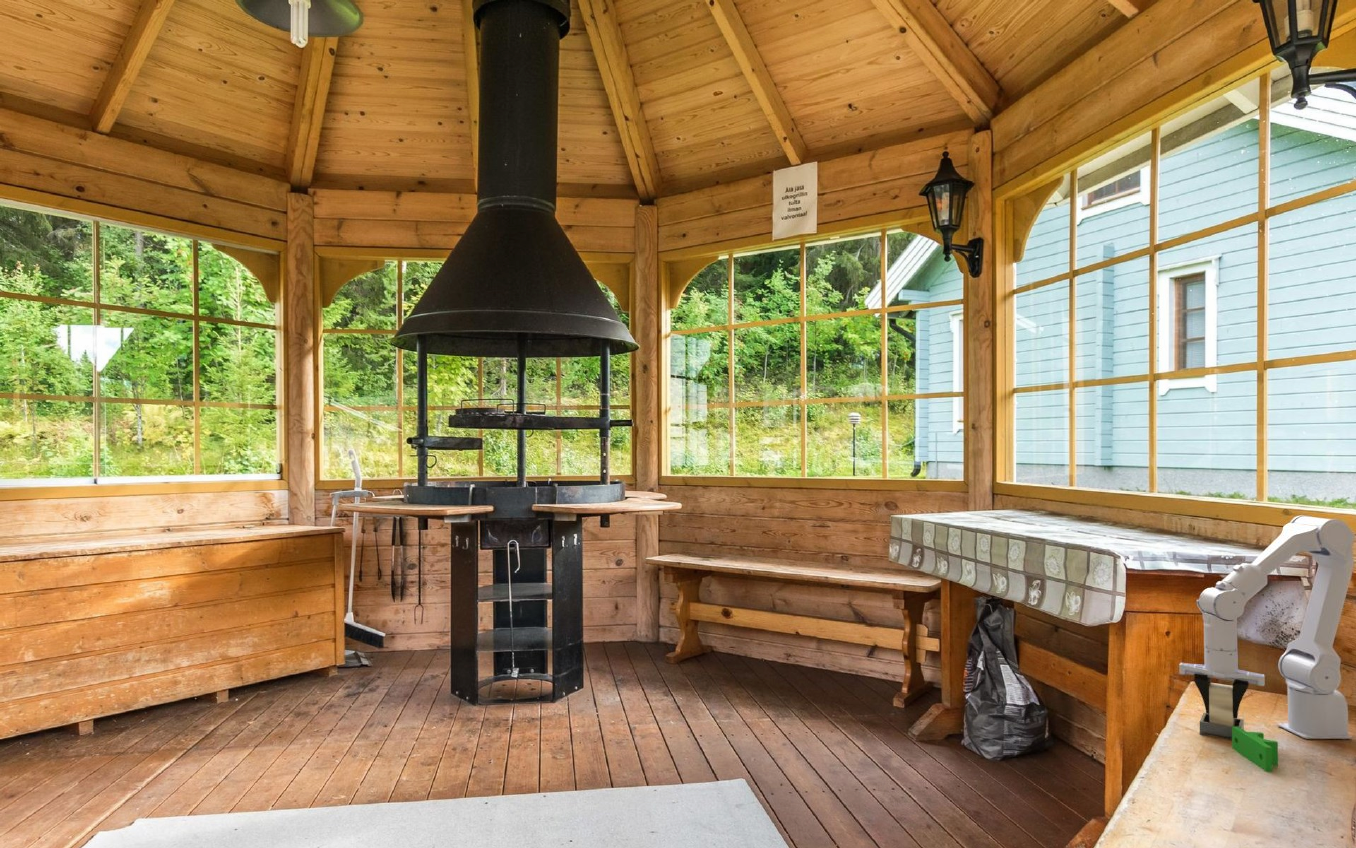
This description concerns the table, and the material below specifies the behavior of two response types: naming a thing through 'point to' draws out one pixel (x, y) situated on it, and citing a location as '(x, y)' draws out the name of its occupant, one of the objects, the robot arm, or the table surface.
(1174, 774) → the table surface
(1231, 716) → the rail post
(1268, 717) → the table surface
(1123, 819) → the table surface
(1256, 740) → the pipe clamp
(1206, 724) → the dark gray open tray
